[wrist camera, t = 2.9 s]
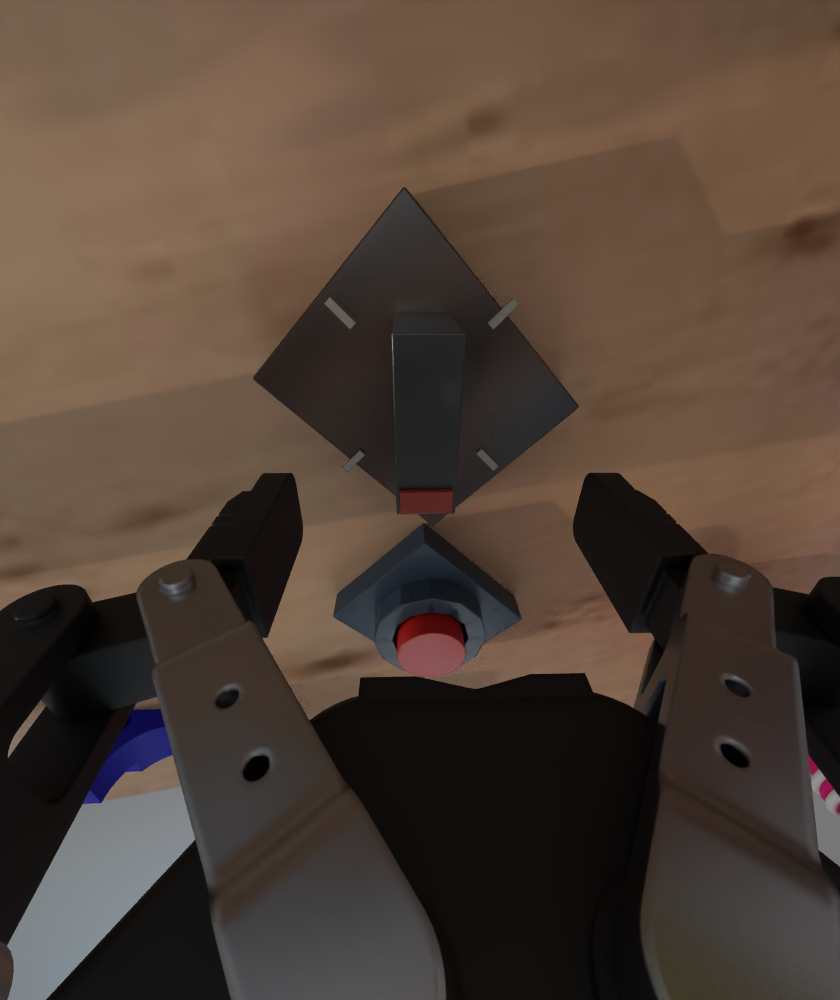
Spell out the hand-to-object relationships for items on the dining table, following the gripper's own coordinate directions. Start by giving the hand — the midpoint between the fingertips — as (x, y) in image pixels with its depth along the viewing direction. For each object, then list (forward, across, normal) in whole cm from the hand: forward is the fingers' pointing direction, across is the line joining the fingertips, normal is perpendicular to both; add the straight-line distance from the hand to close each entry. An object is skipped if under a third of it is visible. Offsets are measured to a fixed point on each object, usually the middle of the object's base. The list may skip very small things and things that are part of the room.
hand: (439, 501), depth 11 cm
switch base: (+12, 0, 0) cm, 12 cm away
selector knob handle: (+9, 0, 0) cm, 9 cm away
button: (+9, -1, +16) cm, 18 cm away
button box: (+12, -1, +16) cm, 20 cm away
